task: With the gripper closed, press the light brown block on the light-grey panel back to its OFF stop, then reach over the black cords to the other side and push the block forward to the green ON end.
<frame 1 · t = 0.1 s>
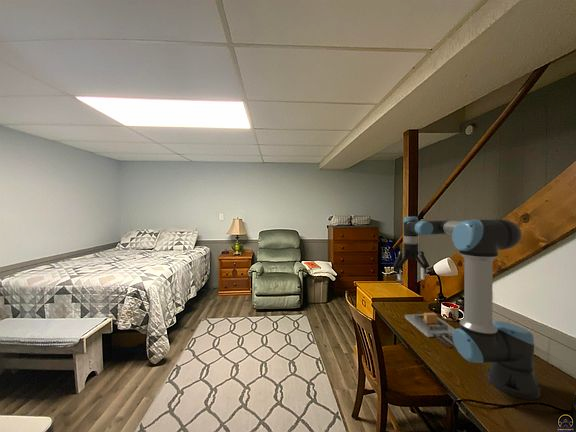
hand: (411, 279, 144), 28 cm above the table, fingers open, 13 cm apart
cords: (449, 342, 128), on the table
light brown block: (430, 318, 145), point 5 cm above the table, slide at 5.0 cm
panel: (430, 326, 145), on the table
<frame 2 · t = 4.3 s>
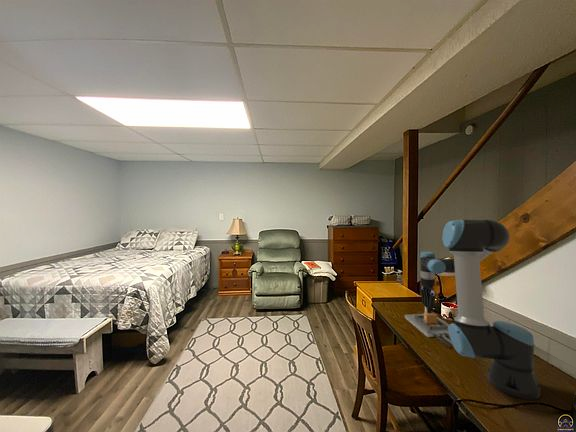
hand: (427, 317, 147), 4 cm above the table, fingers closed
light brown block: (430, 318, 145), point 5 cm above the table, slide at 5.0 cm, touching gripper
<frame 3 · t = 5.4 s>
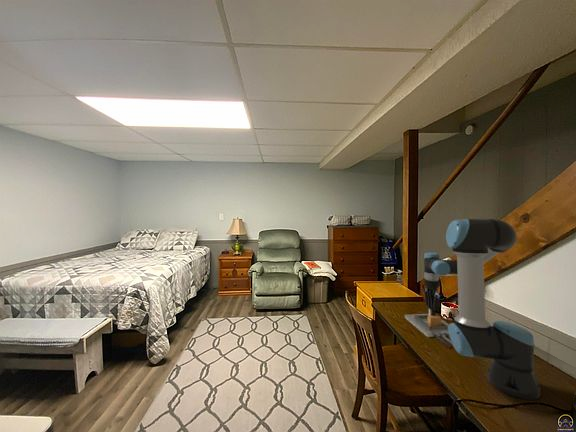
hand: (431, 319, 144), 4 cm above the table, fingers closed
light brown block: (434, 320, 141), point 5 cm above the table, slide at 8.7 cm, touching gripper
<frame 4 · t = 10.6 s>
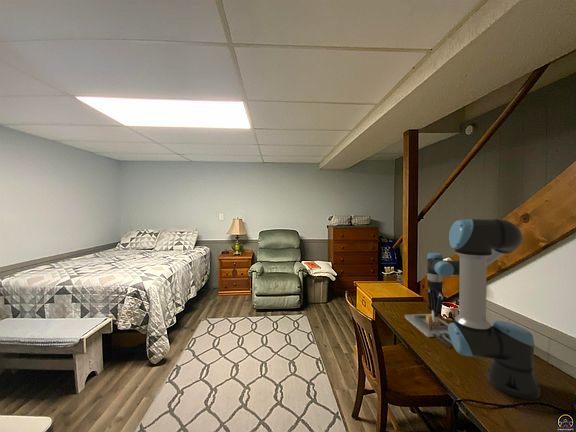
hand: (435, 321, 141), 5 cm above the table, fingers closed
light brown block: (432, 319, 143), point 5 cm above the table, slide at 7.0 cm, touching gripper
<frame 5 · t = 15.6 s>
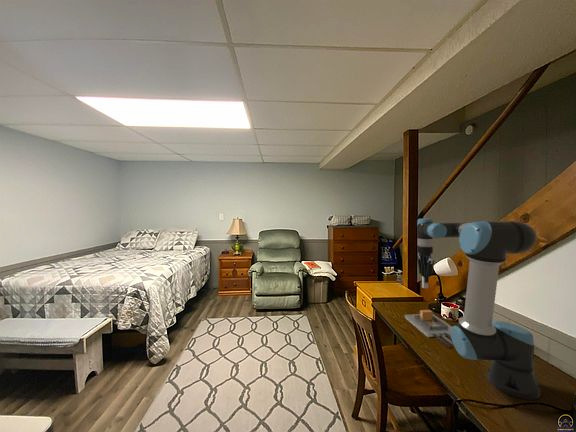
hand: (425, 287, 139), 24 cm above the table, fingers closed
light brown block: (426, 315, 149), point 5 cm above the table, slide at 1.0 cm
at the end: light brown block slide at 1.0 cm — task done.
